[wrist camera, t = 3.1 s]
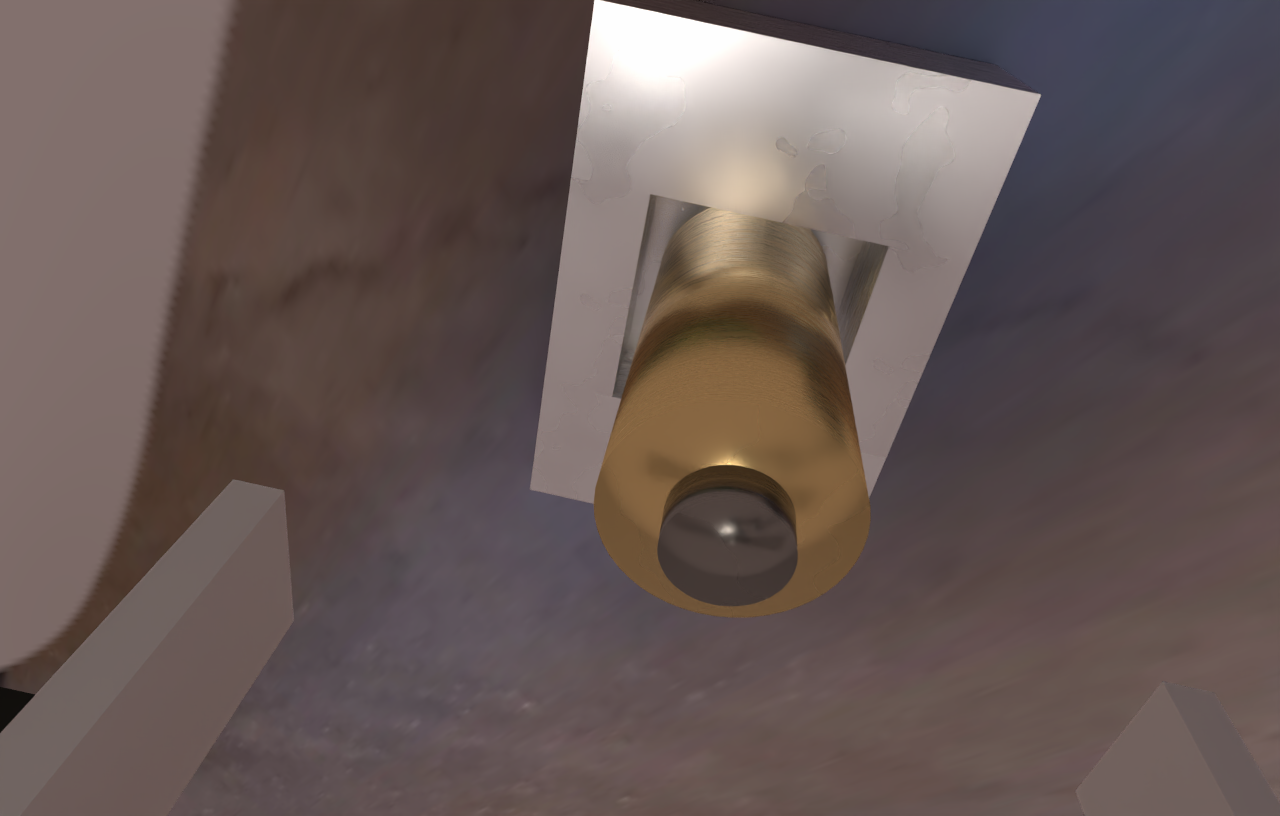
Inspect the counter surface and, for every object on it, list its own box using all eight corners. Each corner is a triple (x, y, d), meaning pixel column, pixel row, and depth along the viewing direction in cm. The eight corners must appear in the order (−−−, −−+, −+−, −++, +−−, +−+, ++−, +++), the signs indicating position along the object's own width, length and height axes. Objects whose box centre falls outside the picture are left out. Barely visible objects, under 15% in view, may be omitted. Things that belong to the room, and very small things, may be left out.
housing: (621, -16, 21) (594, -2, 18) (996, 64, 21) (1041, 94, 18) (557, 421, 29) (530, 489, 25) (833, 482, 29) (842, 559, 25)
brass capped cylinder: (677, 183, 23) (606, 403, 13) (851, 221, 23) (922, 473, 12) (645, 338, 25) (566, 622, 15) (801, 372, 25) (825, 681, 15)
